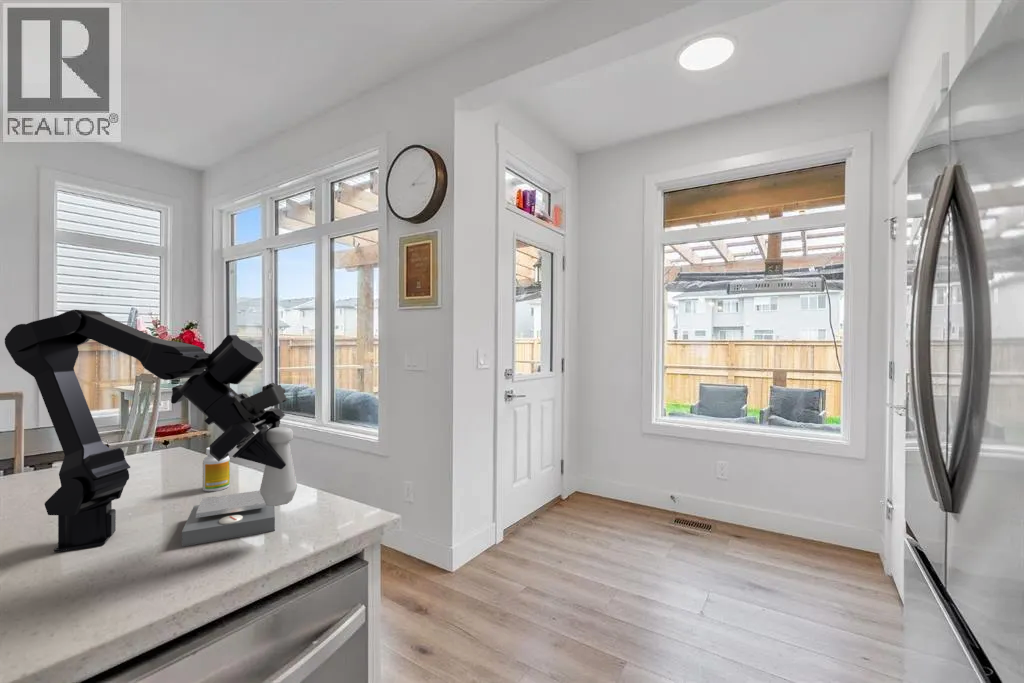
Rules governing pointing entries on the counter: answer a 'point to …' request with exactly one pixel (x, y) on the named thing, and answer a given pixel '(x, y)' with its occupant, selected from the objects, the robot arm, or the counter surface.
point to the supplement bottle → (215, 473)
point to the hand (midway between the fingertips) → (287, 464)
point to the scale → (227, 525)
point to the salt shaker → (279, 470)
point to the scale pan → (230, 503)
